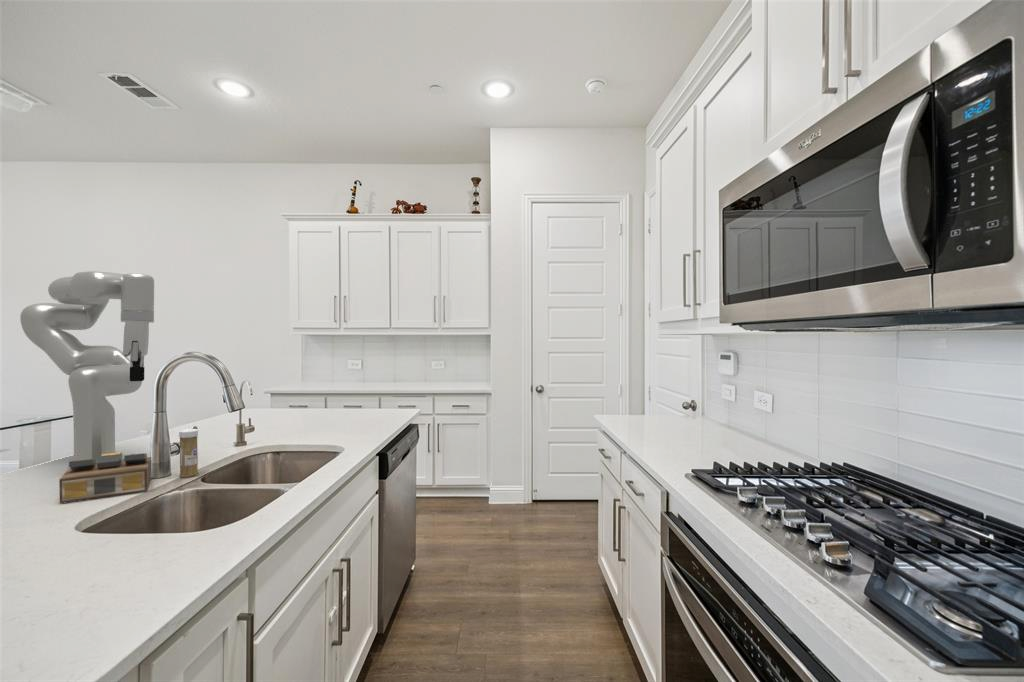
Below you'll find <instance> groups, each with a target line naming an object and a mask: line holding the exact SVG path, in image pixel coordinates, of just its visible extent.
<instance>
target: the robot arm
mask: <svg viewBox="0 0 1024 682" xmlns="http://www.w3.org/2000/svg"><path fill="white" fill-rule="evenodd" d="M47 290H48V294H49V296H50V298H52V299H53V300H55V302H58V303H55V302H53V303H52V302H51V303H50V302H45V303H44V302H41V303H40V302H39V303H33V304H30V305H28V306H26V307H25V308H23V309H22V311H21V312H20V318H19V319H20V325H21V329H22V331H23V332H24V335H25V336H26V337H27V338H28V339H29V340H30V341H31V342H32V344H34V345H35V346H37V347H38V348H39V349H41V351H43V352H44V353H45V354H46V355H47V356H48V357H49V358H50V360H51V361H52V363H54V364H55V365H56V366H57V367H58V369H59V370H60V371H62V373H64V374H65V375H67V376H68V379H67V380H68V382H67V383H68V388H69V391H70V396H71V400H72V411H73V412H72V413H73V416H72V417H73V461H76V460H85V459H96V463H98V460H99V458H100V456H101V454H109V453H116V412H115V408H114V406H113V405H112V404H111V402H110V401H109V400H108V399H107V398H106V397H110V396H120V395H128V394H132V393H135V392H136V391H138V390H139V389H140V388H141V386H142V383H143V381H144V380H145V356H147V355H148V351H149V337H150V336H149V335H150V323H155V314H154V313H155V279H154V277H152V275H148V274H144V273H141V274H140V273H118V272H117V273H116V272H106V271H94V270H93V271H92V270H91V271H79V272H75V273H74V274H73V276H66V277H65V276H64V277H60V278H56V279H55V280H53V281H51V283H50V284H49V285H48V289H47ZM110 300H120V323H121V322H122V323H124V327H123V329H124V330H123V345H122V350H121V349H119V348H118V347H115V346H113V345H112V346H111V345H89V344H87V345H86V344H83V343H82V342H81V341H80V340H79V339H78V338H77V337H76V336H74V335H73V334H71V333H69V332H67V331H84V330H89V329H91V328H92V327H93V326H94V325H95V324H96V323H97V321H98V319H99V318H100V316H101V314H102V313H103V312H104V310H106V309H105V308H106V307H107V305H108V303H109V302H110ZM128 357H130V358H128ZM70 468H71V467H68V468H67V469H66V472H67V471H68V470H69V469H70Z"/></svg>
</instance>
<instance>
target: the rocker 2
mask: <svg viewBox="0 0 1024 682" xmlns="http://www.w3.org/2000/svg"><path fill="white" fill-rule="evenodd" d="M122 458H123V452H122V451H121V452H120V451H119V452H115V453H109V454H101V456H100V458H99V460H98V463H97V468H105V467H114V466H119V465H120V464H121V460H123V459H122Z"/></svg>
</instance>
